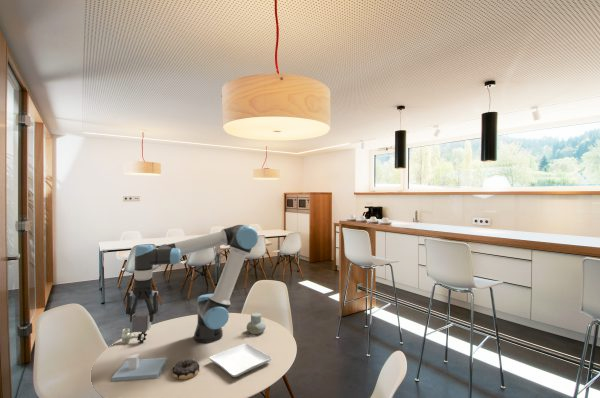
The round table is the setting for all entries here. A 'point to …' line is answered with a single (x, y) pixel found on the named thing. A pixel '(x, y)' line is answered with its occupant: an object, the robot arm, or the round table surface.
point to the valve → (132, 336)
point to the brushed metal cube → (140, 322)
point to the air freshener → (256, 324)
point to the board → (139, 368)
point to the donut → (185, 369)
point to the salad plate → (240, 359)
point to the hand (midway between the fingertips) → (141, 328)
